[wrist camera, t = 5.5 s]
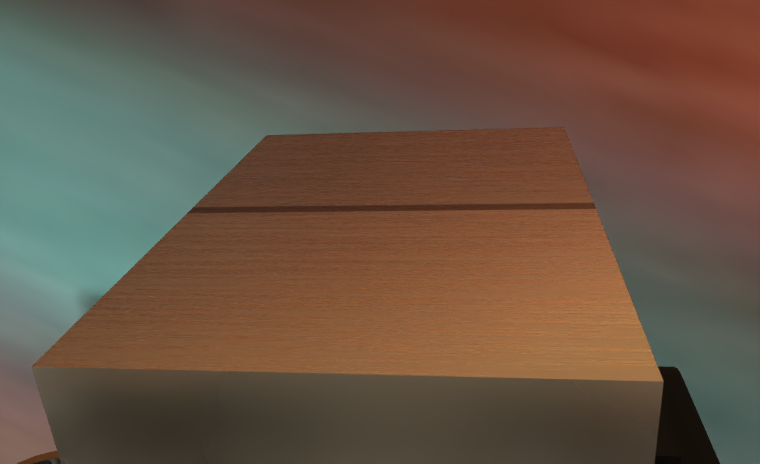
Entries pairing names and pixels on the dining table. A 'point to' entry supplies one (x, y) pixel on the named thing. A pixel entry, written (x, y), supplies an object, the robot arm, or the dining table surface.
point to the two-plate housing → (368, 316)
